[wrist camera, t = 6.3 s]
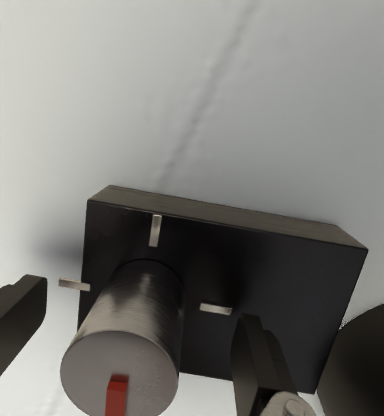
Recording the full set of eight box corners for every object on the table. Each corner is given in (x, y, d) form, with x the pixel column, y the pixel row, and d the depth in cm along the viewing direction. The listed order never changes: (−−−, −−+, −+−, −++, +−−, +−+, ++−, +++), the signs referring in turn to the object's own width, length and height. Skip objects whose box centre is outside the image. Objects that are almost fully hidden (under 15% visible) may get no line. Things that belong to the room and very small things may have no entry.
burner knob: (108, 254, 13) (54, 329, 8) (190, 265, 13) (184, 346, 8) (104, 324, 14) (54, 426, 9) (180, 334, 14) (169, 441, 9)
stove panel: (337, 225, 15) (372, 251, 12) (295, 350, 17) (316, 398, 14) (91, 181, 15) (62, 196, 12) (80, 314, 17) (54, 355, 14)
